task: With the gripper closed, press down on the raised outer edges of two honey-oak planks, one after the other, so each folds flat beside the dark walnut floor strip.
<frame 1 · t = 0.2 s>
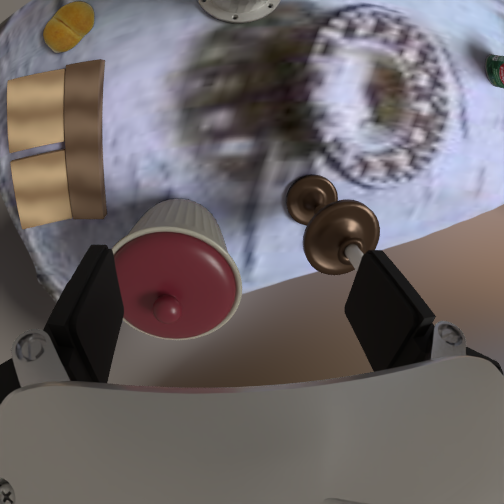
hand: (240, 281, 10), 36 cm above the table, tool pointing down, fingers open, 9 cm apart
walnut floor strip: (85, 140, 38), on the table
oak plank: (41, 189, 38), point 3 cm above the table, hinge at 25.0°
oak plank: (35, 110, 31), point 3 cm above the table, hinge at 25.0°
canned tomato: (493, 70, 36), on the table
bread roll: (71, 28, 28), on the table
candlestick: (311, 199, 49), on the table
canister: (180, 230, 49), on the table
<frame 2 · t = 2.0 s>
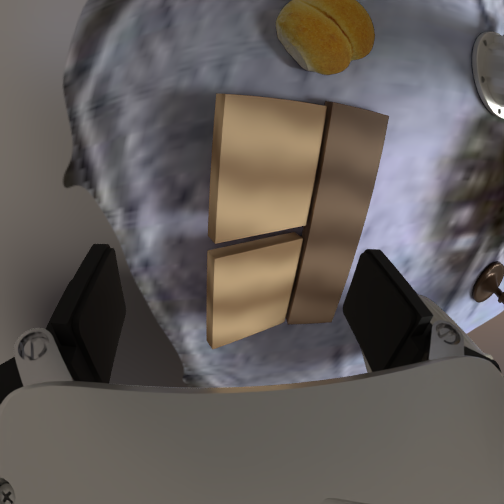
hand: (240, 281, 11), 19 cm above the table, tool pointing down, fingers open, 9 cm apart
walnut floor strip: (329, 224, 31), on the table
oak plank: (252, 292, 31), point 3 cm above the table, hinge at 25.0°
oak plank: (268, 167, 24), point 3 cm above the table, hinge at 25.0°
bread roll: (321, 33, 21), on the table
candlestick: (487, 280, 42), on the table
canister: (393, 319, 42), on the table
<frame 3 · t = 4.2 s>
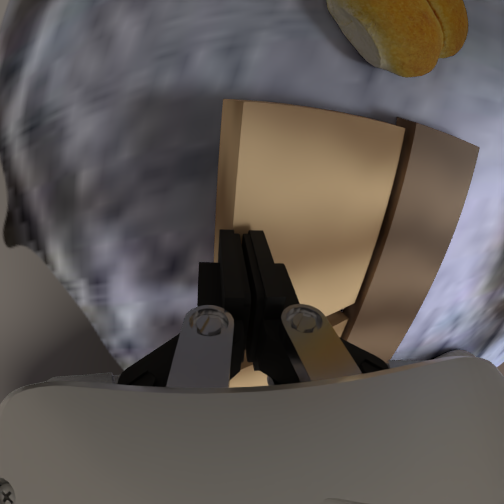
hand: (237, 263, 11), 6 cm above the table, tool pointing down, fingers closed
walnut floor strip: (381, 292, 21), on the table
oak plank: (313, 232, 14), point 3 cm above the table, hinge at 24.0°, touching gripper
bread roll: (389, 11, 11), on the table
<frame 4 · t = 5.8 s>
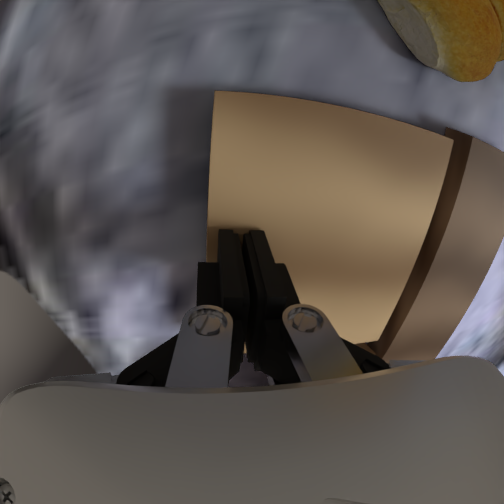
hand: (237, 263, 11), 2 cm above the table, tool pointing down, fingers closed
walnut floor strip: (410, 321, 18), on the table
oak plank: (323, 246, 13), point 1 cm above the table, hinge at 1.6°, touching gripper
bread roll: (436, 2, 8), on the table
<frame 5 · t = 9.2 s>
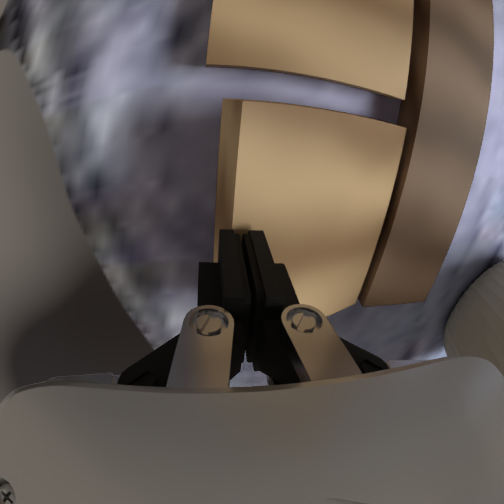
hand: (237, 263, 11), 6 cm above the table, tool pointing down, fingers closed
walnut floor strip: (435, 121, 14), on the table
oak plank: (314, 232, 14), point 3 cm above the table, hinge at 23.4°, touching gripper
canister: (479, 300, 25), on the table
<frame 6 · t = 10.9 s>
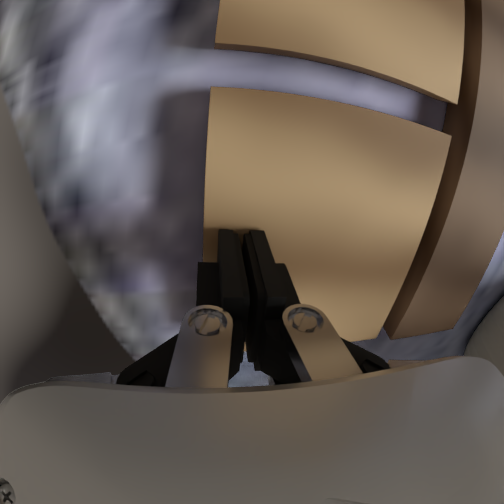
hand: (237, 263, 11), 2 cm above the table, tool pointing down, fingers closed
walnut floor strip: (479, 130, 11), on the table
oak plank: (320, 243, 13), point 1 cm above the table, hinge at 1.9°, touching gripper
canister: (499, 318, 22), on the table
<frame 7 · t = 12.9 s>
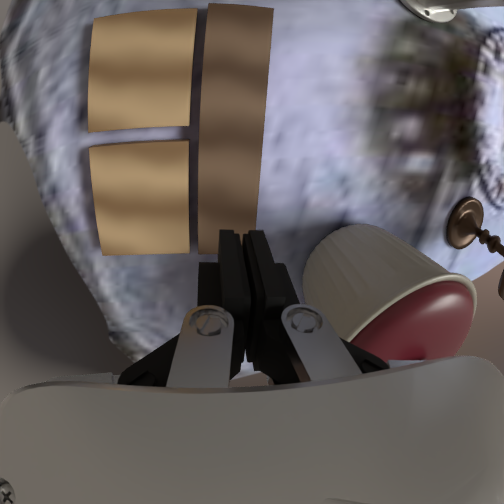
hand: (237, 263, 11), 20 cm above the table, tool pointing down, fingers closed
walnut floor strip: (229, 129, 27), on the table
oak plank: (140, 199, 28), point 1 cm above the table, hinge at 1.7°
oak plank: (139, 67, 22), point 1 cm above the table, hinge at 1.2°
candlestick: (463, 221, 38), on the table
canister: (344, 263, 38), on the table
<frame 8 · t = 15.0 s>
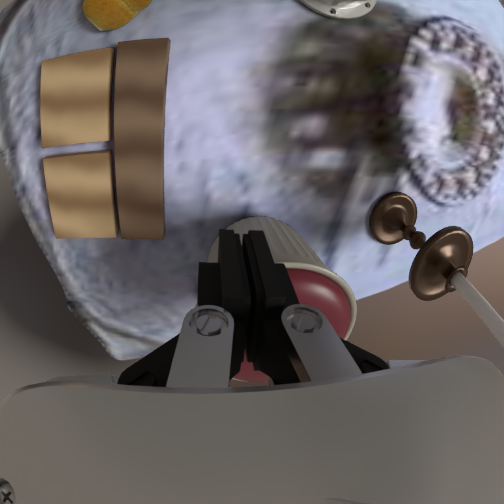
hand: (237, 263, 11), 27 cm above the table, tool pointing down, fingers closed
walnut floor strip: (141, 140, 33), on the table
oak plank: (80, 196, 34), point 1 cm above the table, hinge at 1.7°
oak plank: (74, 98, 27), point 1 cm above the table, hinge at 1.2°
bread roll: (119, 2, 22), on the table
candlestick: (392, 217, 44), on the table
canister: (254, 251, 44), on the table
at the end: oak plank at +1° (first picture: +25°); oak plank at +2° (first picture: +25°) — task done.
